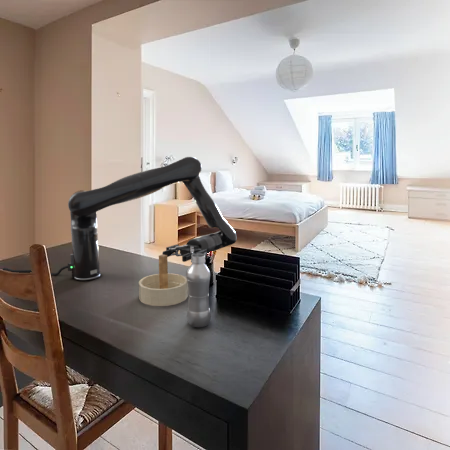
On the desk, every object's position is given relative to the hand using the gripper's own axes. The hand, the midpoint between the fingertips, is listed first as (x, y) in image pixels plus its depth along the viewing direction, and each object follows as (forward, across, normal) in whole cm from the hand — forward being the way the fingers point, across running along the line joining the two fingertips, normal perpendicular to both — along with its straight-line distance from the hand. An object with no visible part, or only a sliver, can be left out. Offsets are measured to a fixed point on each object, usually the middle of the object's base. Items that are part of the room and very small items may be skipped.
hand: (173, 256), depth 118 cm
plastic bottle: (+14, +21, +13) cm, 28 cm away
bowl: (+5, 0, +13) cm, 14 cm away
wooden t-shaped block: (+5, 0, +12) cm, 13 cm away
